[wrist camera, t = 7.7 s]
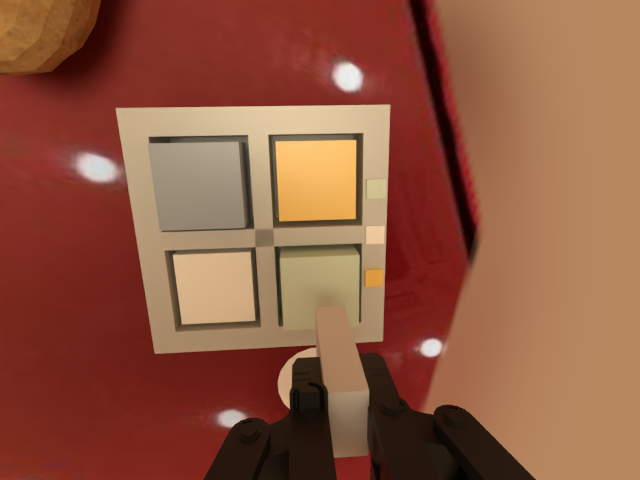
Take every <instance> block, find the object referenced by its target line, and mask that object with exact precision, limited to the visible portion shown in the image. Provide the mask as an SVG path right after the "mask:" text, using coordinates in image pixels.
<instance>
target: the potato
mask: <svg viewBox="0 0 640 480" xmlns="http://www.w3.org/2000/svg"><path fill="white" fill-rule="evenodd" d="M100 3H101V0H0V75H7V76H20V75H28V74H36V73H44V72H52V71H53V70H54V69H55V68H56V67H57V66H58V65H59V64H61V63H62V62H63V61H64V60H65V59H66V58H68V57H69V56H70V55H72V54H73V53H75V52H76V51H77V50H79V49H80V48H82V47H83V45H84V43H85V42H86V40H87V38H88V36H89V35H90V33H91V31H92V30H93V28H94V26H95V24H96V20H97V16H98V11H99V7H100Z"/></svg>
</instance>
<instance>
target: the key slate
mask: <svg viewBox="0 0 640 480" xmlns="http://www.w3.org/2000/svg"><path fill="white" fill-rule="evenodd" d="M148 150H149V158H150V165H151V172H152V179H153V186H154V193H155V200H156V207H157V215H158V222H159V229H160V231H169V230H199V229H229V228H245V227H246V225H247V224H248V222H249V220H250V211H249V197H248V183H247V169H246V155H245V142H204V143H150V144H148Z"/></svg>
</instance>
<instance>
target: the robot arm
mask: <svg viewBox="0 0 640 480" xmlns="http://www.w3.org/2000/svg"><path fill="white" fill-rule="evenodd" d="M315 316H316V355H317V357H306V358H297V359H296V360H295V362H294V363H293V365H292V388H291V389H290V393H289V399H290V412H289V413H288V415H287V416H286V417H285V418H283V419H282V420H280V421H278V422H276V423H273V424H270V425H268V424H267V423H266V422H265V421H264V420H262V419H258V418H248V419H245V420H241V421H240V422H238V423H237V424H235V425H234V426H233V428H232V429H231V430H230V432H229V434H228V435H227V437H226V439H225V441H224V443H223V445H222V447H221V448H220V450H219V452H218V454H217V456H216V458H215V460H214V461H213V463H212V465H211V467H210V469H209V471H208V473H207V474H206V476H205V478H204V480H337V478H336V470H335V462H334V458H339V457H354V456H368V446H369V450H370V455H371V468H370V480H536V479H534V477H533V476H531V474H530V473H529V472H528V471H526V470H525V468H524V467H523V466H522V465H521V464H520V463H519V462H518V461H517V460H516V459H514V457H513V456H512V455H511V454H510V453H509V452H508V451H507V450H506V449H505V448H504V447H503V446H502V445H501V444H500V443H499V442H498V441H497V440H496V439H495V438H494V437H493V436H492V435H491V434H490V433H489V432H488V431H487V430H486V429H485V428H484V427H483V426H482V425H481V424H480V423H479V422H478V421H477V420H476V419H475V418H474V417H473V416H472V415H471V414H470V413H469V412H467V411H466V410H465V409H463V408H460V407H458V406H454V405H442V406H440V407H438V408H436V410H435V411H434V415H432V414H426V413H421V412H417V411H415V410H412V409H410V407H409V405H408V404H407V403H406V401H404V400H403V399H402V398H400V397H399V395H398V392H397V390H396V387H395V385H394V382H393V380H392V377H391V375H390V373H389V370H388V369H387V365H386V363H385V360H384V359H383V358H382V357H381V356H380V355H378V354H377V353H366V354H358V351H357V347H356V344H355V341H354V337H353V334H352V331H351V327H350V324H349V320H348V317H347V314H346V310H345V307H344V306H331V307H315Z"/></svg>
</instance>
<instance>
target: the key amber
mask: <svg viewBox="0 0 640 480" xmlns="http://www.w3.org/2000/svg"><path fill="white" fill-rule="evenodd" d="M275 145H276V165H277V185H278V205H279V221H309V220H339V219H356V140H327V141H275Z"/></svg>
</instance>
